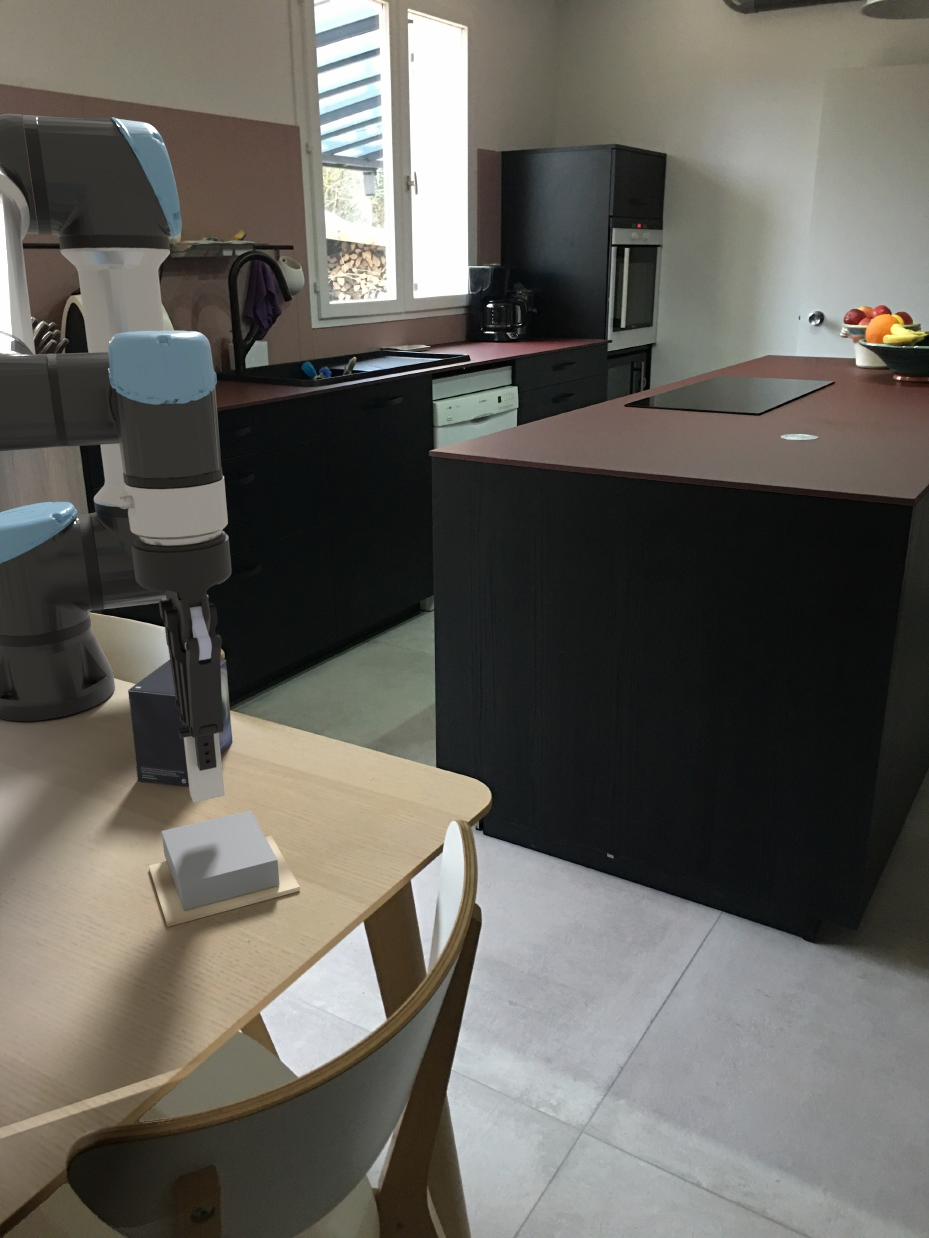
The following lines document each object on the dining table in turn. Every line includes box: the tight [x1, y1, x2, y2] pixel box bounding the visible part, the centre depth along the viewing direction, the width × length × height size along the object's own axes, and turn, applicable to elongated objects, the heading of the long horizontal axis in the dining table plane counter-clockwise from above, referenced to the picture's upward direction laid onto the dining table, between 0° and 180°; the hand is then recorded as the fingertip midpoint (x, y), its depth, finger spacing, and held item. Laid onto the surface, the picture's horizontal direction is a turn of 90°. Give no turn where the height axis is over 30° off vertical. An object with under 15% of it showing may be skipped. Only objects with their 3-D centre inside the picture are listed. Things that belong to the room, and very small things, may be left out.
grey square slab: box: [161, 810, 280, 910], centre depth 85 cm, size 3×8×9 cm
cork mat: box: [148, 835, 301, 928], centre depth 84 cm, size 9×11×1 cm
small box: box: [127, 658, 234, 788], centre depth 103 cm, size 11×6×10 cm, turn 168°
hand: (207, 795), depth 85 cm, fingers closed
